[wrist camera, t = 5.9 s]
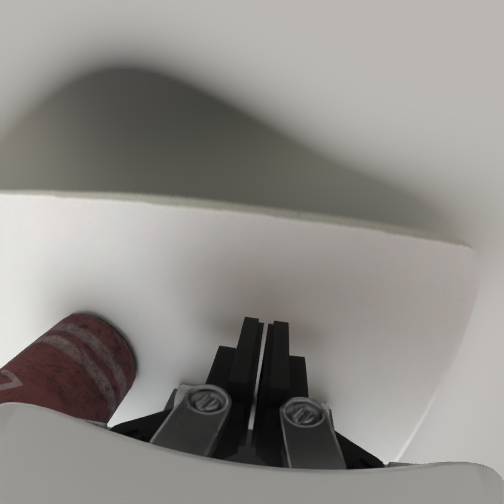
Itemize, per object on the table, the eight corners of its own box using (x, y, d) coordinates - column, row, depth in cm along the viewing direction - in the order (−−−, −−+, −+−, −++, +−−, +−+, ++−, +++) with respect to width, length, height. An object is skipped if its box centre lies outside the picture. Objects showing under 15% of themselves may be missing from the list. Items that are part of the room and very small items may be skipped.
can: (68, 373, 18) (-40, 497, 5) (58, 298, 16) (-101, 420, 3) (139, 402, 18) (48, 565, 4) (138, 326, 16) (-16, 520, 3)
